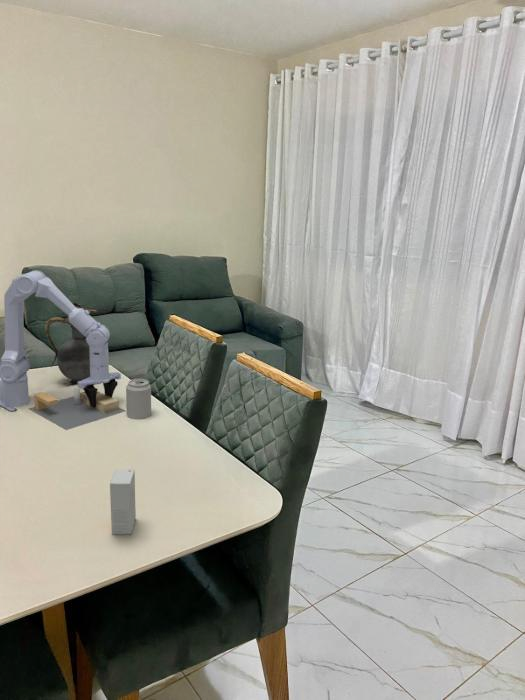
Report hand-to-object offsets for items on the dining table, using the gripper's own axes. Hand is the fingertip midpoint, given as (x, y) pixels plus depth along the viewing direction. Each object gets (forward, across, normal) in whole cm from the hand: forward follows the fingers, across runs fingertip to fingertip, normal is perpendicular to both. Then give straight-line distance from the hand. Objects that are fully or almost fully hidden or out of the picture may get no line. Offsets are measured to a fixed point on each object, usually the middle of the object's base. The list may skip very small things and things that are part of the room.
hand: (100, 404), depth 174 cm
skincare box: (+2, -33, -58) cm, 67 cm away
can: (+2, +5, -14) cm, 15 cm away
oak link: (+1, 0, +1) cm, 1 cm away
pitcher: (+2, +8, +26) cm, 27 cm away
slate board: (+2, -7, +2) cm, 7 cm away
